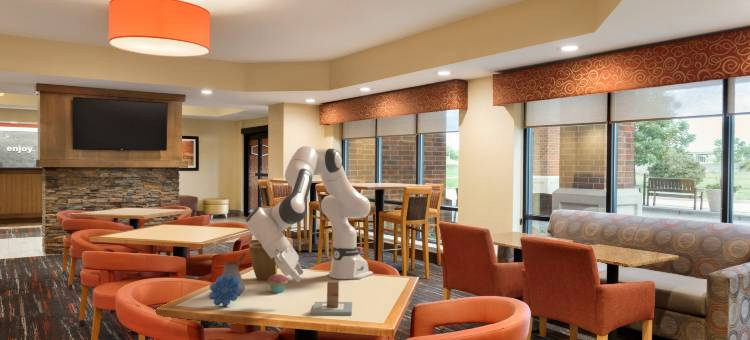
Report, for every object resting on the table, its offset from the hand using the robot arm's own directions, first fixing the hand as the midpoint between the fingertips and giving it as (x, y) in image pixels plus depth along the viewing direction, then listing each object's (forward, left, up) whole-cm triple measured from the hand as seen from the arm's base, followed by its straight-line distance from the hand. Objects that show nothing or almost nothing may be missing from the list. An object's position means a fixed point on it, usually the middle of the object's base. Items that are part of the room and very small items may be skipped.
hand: (300, 277), depth 200 cm
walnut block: (-6, +11, -10) cm, 16 cm away
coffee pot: (0, -38, -12) cm, 40 cm away
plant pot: (-24, -48, -12) cm, 55 cm away
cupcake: (-12, -26, -12) cm, 31 cm away
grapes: (+16, -23, -12) cm, 31 cm away
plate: (-6, +11, -11) cm, 17 cm away
